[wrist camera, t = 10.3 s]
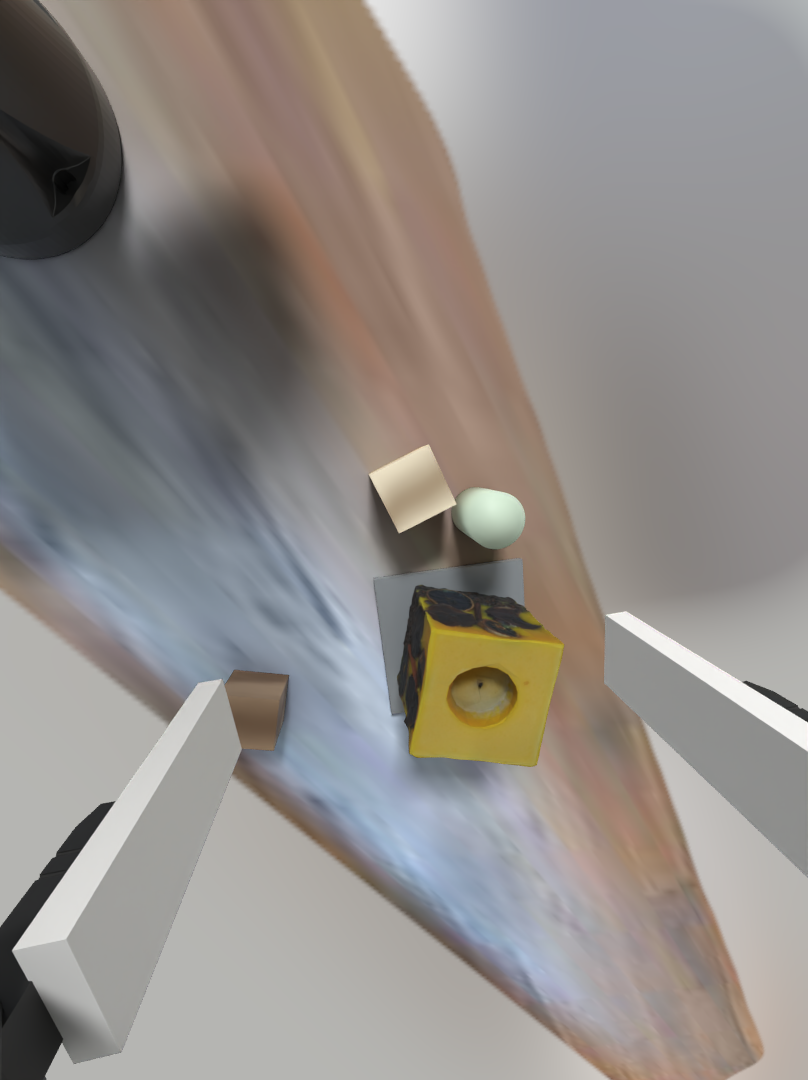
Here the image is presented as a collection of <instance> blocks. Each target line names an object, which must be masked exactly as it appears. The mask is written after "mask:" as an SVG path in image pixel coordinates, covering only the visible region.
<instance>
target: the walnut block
mask: <svg viewBox="0 0 808 1080" xmlns="http://www.w3.org/2000/svg"><path fill="white" fill-rule="evenodd" d="M288 678H289V675H283V674H272V673H261V672H251V671H240V670H234V672H233V673H232V675H231V676H230V678H229V679H228V681H227V682H226V684H225V689H226V693H227V697H228V700H229V704H230V708H231V711H232V715H233V719H234V722H235V726H236V730H237V733H238V737H239V741H240V744H241V748H242V749H256V750H270V751H274V748H275V745H276V742H277V739H278V736H279V733H280V730H281V727H282V724H283V720H284V712H285V703H286V695H287V686H288Z"/></svg>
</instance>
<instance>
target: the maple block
mask: <svg viewBox="0 0 808 1080" xmlns="http://www.w3.org/2000/svg"><path fill="white" fill-rule="evenodd" d="M369 476H370V478H371V480H372V482H373V484H374V486H375V488H376V490H377V491H378V493H379V495H380V497H381V499H382V501H383V503H384V505H385V507H386V509H387V511H388V513H389V515H390V517H391V519H392V521H393V523H394V524H395V526H396V528H397V530H398V532H399V533H401V532H403V531H405V530H407V529H409V528H411V527H413V526H415V525H417V524H419V523H421V522H423V521H425V520H427V519H429V518H431V517H433V516H434V515H436V514H438V513H440V512H442V511H444V510H446V509H448V508H450V507H452V506H454V505H456V502H455V500H454V498H453V496H452V493H451V491H450V489H449V487H448V485H447V483H446V481H445V478H444V476H443V474H442V472H441V470H440V468H439V466H438V463H437V461H436V459H435V457H434V455H433V453H432V451H431V448H430V446H429V445H426V446H423V447H420V448H418V449H416V450H414V451H412V452H410V453H408V454H406V455H404V456H402V457H400V458H398V459H396V460H394V461H392V462H390V463H388V464H386V465H385V466H383V467H381V468H379V469H377V470H375V471H373V472H371V473H369Z"/></svg>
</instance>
